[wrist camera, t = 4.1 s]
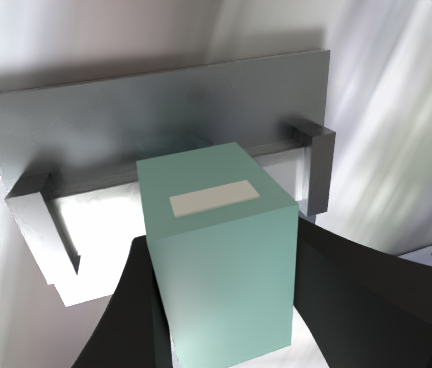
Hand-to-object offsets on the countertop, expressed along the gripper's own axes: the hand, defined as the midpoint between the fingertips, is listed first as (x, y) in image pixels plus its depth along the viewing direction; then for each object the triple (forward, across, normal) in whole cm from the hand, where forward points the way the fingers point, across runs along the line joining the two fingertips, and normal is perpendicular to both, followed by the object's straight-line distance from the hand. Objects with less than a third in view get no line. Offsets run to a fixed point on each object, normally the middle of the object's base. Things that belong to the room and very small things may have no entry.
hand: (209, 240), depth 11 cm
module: (+2, 0, 0) cm, 2 cm away
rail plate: (+5, 0, 0) cm, 5 cm away
